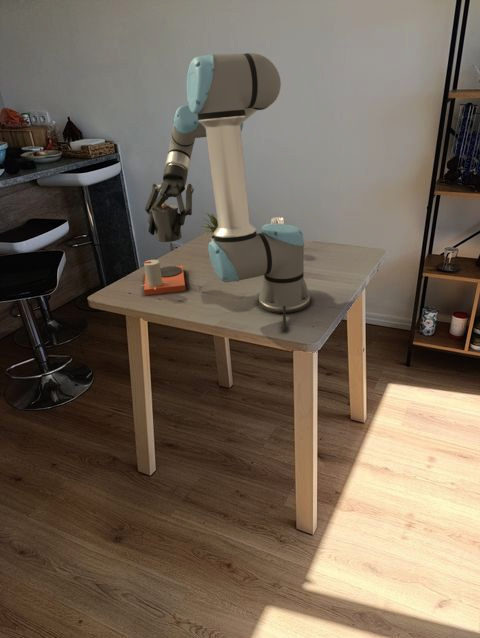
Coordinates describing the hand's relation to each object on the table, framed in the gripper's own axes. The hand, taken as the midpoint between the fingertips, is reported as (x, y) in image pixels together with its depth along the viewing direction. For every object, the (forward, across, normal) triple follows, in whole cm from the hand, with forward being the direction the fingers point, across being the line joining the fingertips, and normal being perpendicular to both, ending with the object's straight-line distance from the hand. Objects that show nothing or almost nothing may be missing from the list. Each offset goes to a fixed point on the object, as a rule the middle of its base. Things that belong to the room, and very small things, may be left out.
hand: (163, 233), depth 152 cm
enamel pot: (-1, 0, -4) cm, 4 cm away
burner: (+7, +3, -15) cm, 17 cm away
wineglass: (-14, -28, -39) cm, 50 cm away
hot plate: (+12, +3, -13) cm, 18 cm away
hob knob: (+15, +3, -7) cm, 17 cm away
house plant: (-11, -6, -36) cm, 38 cm away
